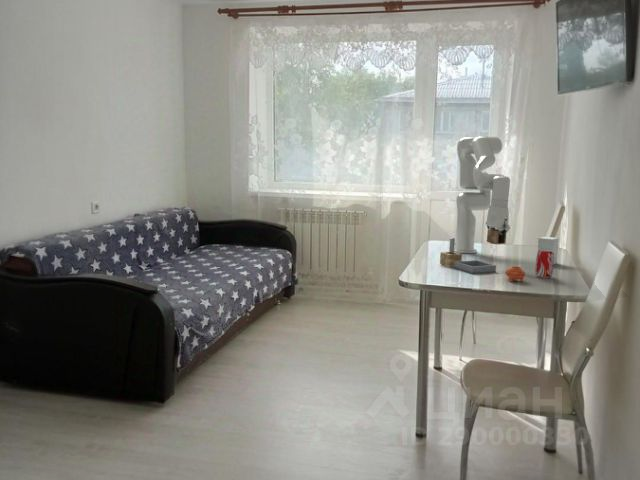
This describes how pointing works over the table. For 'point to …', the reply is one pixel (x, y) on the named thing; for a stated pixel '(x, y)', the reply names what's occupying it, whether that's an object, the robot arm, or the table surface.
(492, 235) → the walnut block
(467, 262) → the tray
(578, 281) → the table surface
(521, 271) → the pot
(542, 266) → the soda can
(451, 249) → the cylinder
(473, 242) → the robot arm
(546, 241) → the supplement box
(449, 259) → the oak block
